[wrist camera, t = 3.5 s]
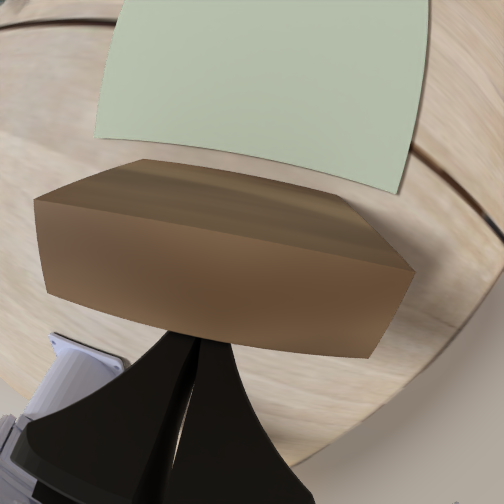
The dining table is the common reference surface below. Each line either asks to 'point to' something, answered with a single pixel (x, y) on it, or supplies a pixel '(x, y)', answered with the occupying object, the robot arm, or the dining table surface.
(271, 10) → the mat
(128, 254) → the slab
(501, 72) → the dining table surface
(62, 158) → the dining table surface
